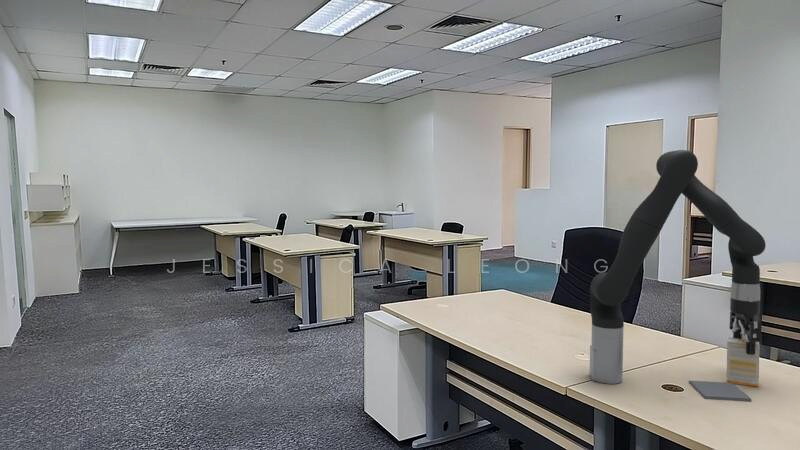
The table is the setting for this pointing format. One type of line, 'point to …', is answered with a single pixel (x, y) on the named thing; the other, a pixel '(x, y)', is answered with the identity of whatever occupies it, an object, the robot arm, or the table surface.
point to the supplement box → (742, 363)
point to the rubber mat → (719, 390)
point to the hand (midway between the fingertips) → (743, 349)
